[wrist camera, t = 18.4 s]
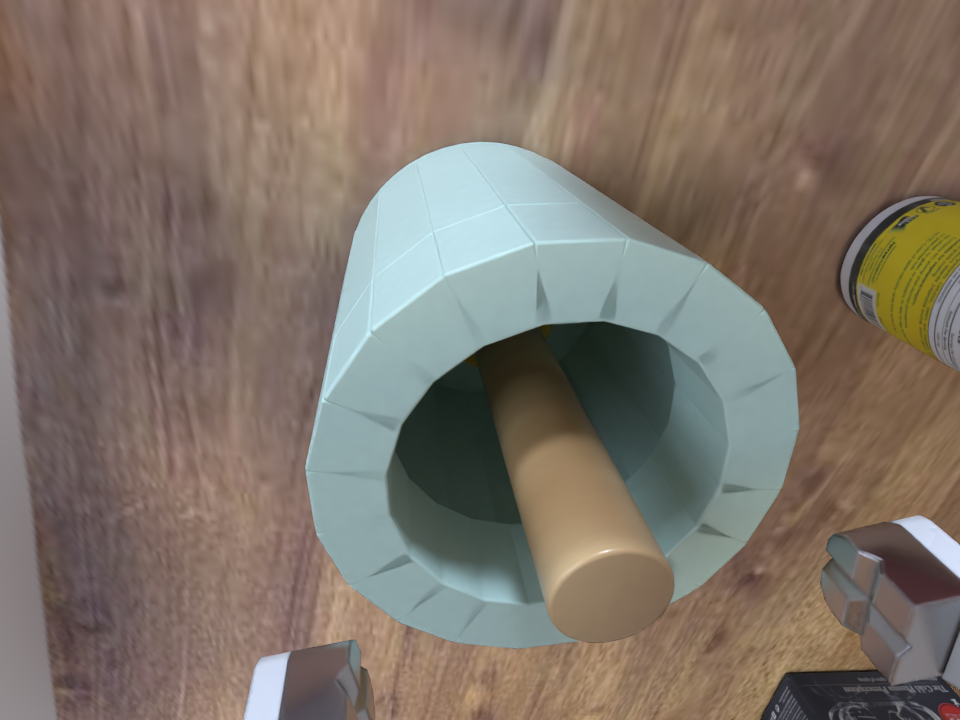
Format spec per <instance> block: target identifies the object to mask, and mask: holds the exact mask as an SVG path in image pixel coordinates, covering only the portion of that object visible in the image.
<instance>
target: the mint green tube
mask: <svg viewBox="0 0 960 720" xmlns="http://www.w3.org/2000/svg"><path fill="white" fill-rule="evenodd" d="M547 324H553V325H552V328H551V331H550V333H549V336H548V337H547V339H546V340H547V342H548V344H549V346H550V348H551V349H552V351H553V353H554V355H555V357H556V358H557V360H558V362H559V364H560V366H561V368H562V369H563V371H564V373H565V375H566V377H567V379H568V380H569V382H570V384H571V386H572V388H573V389H574V391H575V393H576V395H577V397H578V399H579V400H580V402H581V404H582V406H583V408H584V410H585V411H586V413H587V415H588V417H589V419H590V420H591V422H592V424H593V426H594V428H595V430H596V431H597V433H598V435H599V437H600V439H601V441H602V442H603V444H604V446H605V448H606V450H607V451H608V453H609V455H610V457H611V459H612V461H613V462H614V464H615V466H616V468H617V470H618V472H619V473H620V475H621V477H622V479H623V481H624V482H625V484H626V486H627V488H628V490H629V492H630V493H631V495H632V497H633V499H634V501H635V503H636V504H637V506H638V508H639V510H640V512H641V513H642V515H643V517H644V519H645V521H646V523H647V524H648V526H649V528H650V530H651V532H652V534H653V535H654V537H655V539H656V541H657V543H658V544H659V546H660V548H661V550H662V552H663V554H664V555H665V557H666V559H667V561H668V563H669V565H670V566H671V568H672V571H673V574H674V584H675V588H674V594H673V597H672V599H671V601H670V603H669V605H670V604H671V603H673V602H675V601H677V600H678V599H680V598H682V597H683V596H685V595H687V594H689V593H690V592H692V591H694V590H695V589H697V588H698V587H700V586H702V585H703V584H704V583H705V582H706V581H707V580H708V579H709V578H710V577H711V576H712V575H713V574H715V573H716V572H717V571H718V570H719V569H720V568H721V567H722V566H723V565H724V564H725V563H726V562H728V561H729V560H730V559H731V558H732V557H733V556H734V555H735V554H736V553H737V552H738V551H739V550H741V549H742V548H743V547H744V546H745V545H746V542H747V541H748V540H749V539H750V537H751V536H752V534H753V532H754V531H755V529H756V528H757V526H758V525H759V523H760V522H761V520H762V519H763V517H764V516H765V514H766V513H767V511H768V510H769V508H770V507H771V505H772V503H773V502H774V500H775V499H776V497H777V496H778V494H779V493H780V489H781V488H782V487H783V483H784V480H785V476H786V473H787V470H788V466H789V463H790V459H791V456H792V453H793V449H794V446H795V442H796V439H797V436H798V430H799V429H800V425H799V411H798V396H797V381H796V369H795V367H794V364H793V362H792V360H791V358H790V356H789V354H788V352H787V350H786V348H785V346H784V344H783V342H782V340H781V338H780V336H779V334H778V332H777V331H776V329H775V327H774V325H773V323H772V321H771V319H770V317H769V315H768V313H767V311H766V310H765V309H764V308H763V306H762V305H761V304H760V303H758V302H757V301H756V300H755V299H753V298H752V297H751V296H750V295H748V294H747V293H746V292H745V291H743V290H742V289H741V288H740V287H739V286H737V285H736V284H735V283H734V282H732V281H731V280H730V279H729V278H727V277H726V276H725V275H724V274H722V273H721V272H720V271H719V270H717V269H716V268H715V267H714V266H712V265H711V264H710V263H708V262H707V261H705V260H704V259H702V258H701V257H699V256H698V255H696V254H695V253H693V252H692V251H690V250H688V249H687V248H685V247H684V246H682V245H681V244H679V243H678V242H676V241H675V240H673V239H672V238H670V237H669V236H667V235H665V234H664V233H662V232H661V231H659V230H658V229H656V228H655V227H653V226H651V225H650V224H649V223H647V222H645V221H644V220H642V219H641V218H639V217H638V216H636V215H635V214H633V213H632V212H630V211H629V210H627V209H625V208H624V207H622V206H621V205H619V204H618V203H616V202H615V201H613V200H612V199H610V198H609V197H607V196H606V195H604V194H602V193H601V192H599V191H598V190H596V189H595V188H593V187H592V186H590V185H589V184H587V183H586V182H584V181H582V180H581V179H579V178H578V177H576V176H575V175H573V174H572V173H570V172H569V171H567V170H566V169H564V168H563V167H561V166H559V165H558V164H556V163H555V162H553V161H551V160H550V159H547V158H544V157H542V156H540V155H538V154H536V153H534V152H531V151H528V150H526V149H523V148H520V147H517V146H512V145H507V144H502V143H491V142H474V143H463V144H458V145H454V146H449V147H445V148H442V149H439V150H437V151H434V152H431V153H429V154H426V155H424V156H422V157H421V158H419V159H417V160H415V161H413V162H411V163H410V164H408V165H407V166H406V167H404V168H403V169H401V170H400V171H399V172H397V173H396V174H395V175H394V176H393V177H392V178H391V179H390V180H389V181H388V182H387V183H386V184H384V185H383V186H382V187H381V189H380V190H379V191H378V193H377V194H376V195H375V196H374V198H373V199H372V200H371V202H370V203H369V205H368V207H367V208H366V210H365V212H364V214H363V215H362V217H361V219H360V222H359V224H358V227H357V229H356V232H355V234H354V238H353V242H352V247H351V251H350V255H349V260H348V264H347V268H346V273H345V277H344V282H343V287H342V292H341V297H340V302H339V306H338V311H337V316H336V321H335V326H334V331H333V336H332V340H331V345H330V350H329V355H328V360H327V365H326V369H325V374H324V379H323V384H322V389H321V394H320V399H319V403H318V408H317V413H316V418H315V423H314V428H313V432H312V437H311V442H310V447H309V452H308V457H307V462H306V466H305V468H306V478H307V484H308V489H309V495H310V501H311V507H312V513H313V519H314V525H315V530H316V532H317V537H318V538H319V540H320V541H321V543H322V544H323V546H324V547H325V549H326V551H327V552H328V554H329V555H330V557H331V558H332V560H333V562H334V563H335V565H336V566H337V568H338V569H339V571H340V573H341V574H342V576H343V577H344V579H345V580H346V582H347V583H348V585H350V586H351V587H352V588H353V589H355V590H356V591H357V592H359V593H360V594H361V595H362V596H364V597H365V598H366V599H368V600H369V601H370V602H372V603H373V604H374V605H376V606H377V607H378V608H380V609H381V610H382V611H384V612H385V613H386V614H388V615H389V616H390V617H392V618H393V619H394V620H396V621H397V620H398V622H399V623H402V624H404V625H407V626H410V627H413V628H415V629H418V630H421V631H424V632H426V633H429V634H432V635H435V636H437V637H440V638H443V639H446V640H448V641H451V642H456V643H462V644H472V645H482V646H493V647H503V648H513V649H516V648H520V649H521V648H529V647H537V646H545V645H553V644H561V643H570V642H578V640H574V639H572V638H569V637H567V636H566V635H564V634H563V633H561V632H560V631H559V630H558V629H557V628H556V627H555V626H554V625H553V623H552V622H551V620H550V618H549V616H548V613H547V609H546V606H545V602H544V599H543V595H542V592H541V588H540V584H539V581H538V577H537V574H536V570H535V567H534V563H533V560H532V556H531V553H530V549H529V545H528V542H527V538H526V535H525V531H524V528H523V524H522V521H521V517H520V514H519V510H518V506H517V503H516V499H515V496H514V492H513V489H512V485H511V482H510V478H509V475H508V471H507V467H506V464H505V460H504V457H503V453H502V450H501V446H500V443H499V439H498V435H497V432H496V428H495V425H494V421H493V418H492V414H491V411H490V407H489V404H488V400H487V396H486V393H485V389H484V386H483V382H482V379H481V375H480V372H479V368H478V367H475V366H473V365H470V364H468V363H466V362H464V360H465V359H467V358H468V357H469V356H471V355H472V354H474V353H475V352H476V351H478V350H479V349H481V348H482V347H483V346H486V345H489V344H492V343H494V342H497V341H500V340H503V339H506V338H508V337H511V336H514V335H517V334H520V333H523V332H525V331H528V330H531V329H534V328H537V327H539V326H542V325H547Z"/></svg>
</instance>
